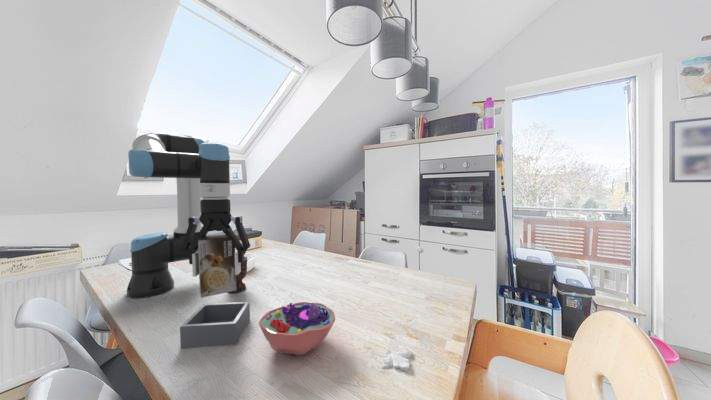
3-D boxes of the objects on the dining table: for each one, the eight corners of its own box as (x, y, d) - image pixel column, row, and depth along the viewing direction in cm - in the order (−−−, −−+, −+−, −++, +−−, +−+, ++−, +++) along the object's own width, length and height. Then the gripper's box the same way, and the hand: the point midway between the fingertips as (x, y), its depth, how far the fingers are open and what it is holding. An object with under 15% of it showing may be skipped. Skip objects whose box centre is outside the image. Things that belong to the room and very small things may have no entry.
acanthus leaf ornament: (412, 356, 65) (412, 349, 65) (413, 375, 58) (413, 368, 58) (383, 352, 67) (383, 345, 66) (381, 370, 60) (381, 363, 60)
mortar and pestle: (258, 288, 107) (257, 241, 105) (243, 296, 98) (242, 246, 97) (235, 284, 110) (234, 239, 109) (220, 292, 102) (218, 244, 101)
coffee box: (233, 284, 78) (232, 233, 77) (236, 291, 73) (235, 236, 72) (198, 290, 73) (197, 236, 72) (199, 298, 68) (198, 239, 67)
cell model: (269, 329, 76) (269, 293, 75) (335, 327, 77) (335, 291, 76) (249, 370, 59) (249, 324, 58) (334, 367, 60) (335, 321, 60)
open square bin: (180, 348, 67) (179, 326, 66) (203, 322, 79) (203, 304, 79) (235, 344, 68) (235, 323, 68) (249, 319, 81) (249, 301, 81)
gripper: (163, 199, 67) (166, 280, 68) (253, 198, 69) (255, 276, 71) (179, 198, 74) (181, 271, 75) (260, 197, 77) (261, 268, 78)
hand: (217, 274), depth 73 cm, fingers closed on coffee box, 11 cm apart
